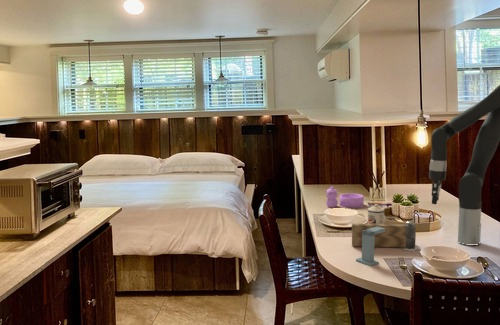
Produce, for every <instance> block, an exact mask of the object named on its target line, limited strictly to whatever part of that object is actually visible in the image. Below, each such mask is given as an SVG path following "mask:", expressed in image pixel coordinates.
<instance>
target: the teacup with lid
mask: <svg viewBox="0 0 500 325" xmlns="http://www.w3.org/2000/svg"><path fill="white" fill-rule="evenodd" d="M385 211H386V209H385V208H383V207H381V206H379V204H377V203H376V204H374V205H373V206H371V207H369V208H367V224H386V222H387V217H386V215H385Z"/></svg>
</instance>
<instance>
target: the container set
mask: <svg viewBox="0 0 500 325" xmlns="http://www.w3.org/2000/svg"><path fill="white" fill-rule="evenodd" d="M325 197H326V198H327V199H326V200H325V201H326V202H325V204H326V206H327V207H329V208H335V207H337V206H338V203H339V206H340V207H342V208H349V209H350V208H351V209H354V208H355V209H357V208H362V206H363V207H364V202H365V200H364V195H363V194H360V193H355V192H354V193H342V194H339V201H338V200H337V198H338V190H337V189H336V188H334V186H333V185H332V186H330V187H329V188H328V189H326V195H325Z"/></svg>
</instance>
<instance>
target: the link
mask: <svg viewBox="0 0 500 325" xmlns="http://www.w3.org/2000/svg"><path fill="white" fill-rule="evenodd" d="M377 226H378V227H381V228H385V232H383V233H379V234H376V235H374V248H375V247H378V248H379V247H381V248H382V247H383V248H400V247H406V248H415V245H416V233H417V229H416V228H417V226H416V224H414V223H413V224H412V225H408V223H405V224H404V223H403V224H402V223H401V224H397V223H395V224H394V223H392V224H391V223H389V224H388V223H387V224H386V223H384V224H368V223H351V245H352V247H362V231H363V230H366V229H370V228H374V227H377Z"/></svg>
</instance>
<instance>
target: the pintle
mask: <svg viewBox="0 0 500 325" xmlns="http://www.w3.org/2000/svg"><path fill="white" fill-rule="evenodd" d="M414 223H415V222H414V221H413V220H407V221H406V223H405V224H408V225H412V224H413V225H414ZM399 248H400V249H401V250H405V251H412V252H414V251H419V250H420V249H421V246H419V245H416V244H415V248H406V247H399Z"/></svg>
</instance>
